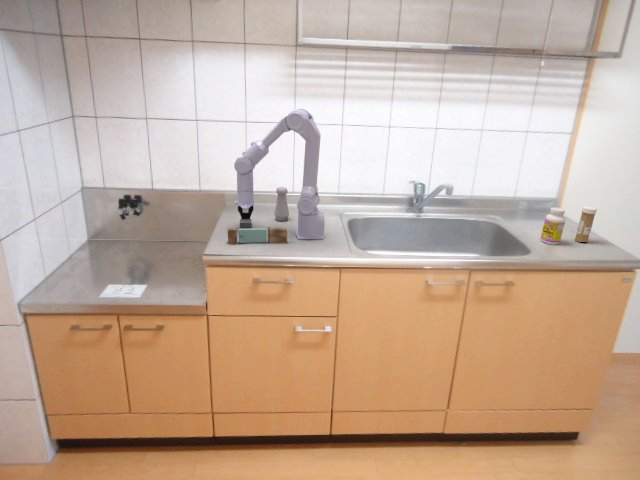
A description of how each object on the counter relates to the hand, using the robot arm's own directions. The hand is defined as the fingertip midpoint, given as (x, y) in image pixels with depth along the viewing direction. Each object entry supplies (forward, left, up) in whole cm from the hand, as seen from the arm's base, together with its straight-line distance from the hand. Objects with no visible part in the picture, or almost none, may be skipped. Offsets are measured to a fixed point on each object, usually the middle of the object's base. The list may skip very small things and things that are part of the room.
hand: (245, 225), depth 167 cm
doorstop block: (0, +8, -2) cm, 8 cm away
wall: (-4, +14, -1) cm, 14 cm away
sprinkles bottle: (-125, +18, -2) cm, 126 cm away
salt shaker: (-14, -10, -2) cm, 17 cm away
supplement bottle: (-112, +18, -2) cm, 113 cm away
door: (-2, +14, -1) cm, 14 cm away
